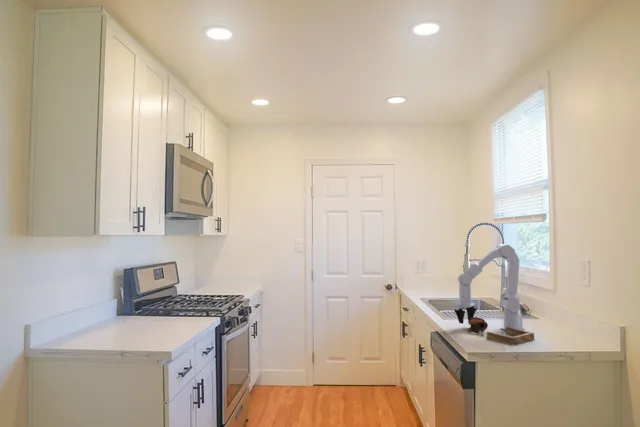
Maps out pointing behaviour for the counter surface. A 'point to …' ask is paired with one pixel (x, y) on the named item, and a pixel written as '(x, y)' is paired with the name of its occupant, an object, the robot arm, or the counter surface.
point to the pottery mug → (477, 325)
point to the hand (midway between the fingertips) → (465, 322)
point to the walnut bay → (518, 337)
